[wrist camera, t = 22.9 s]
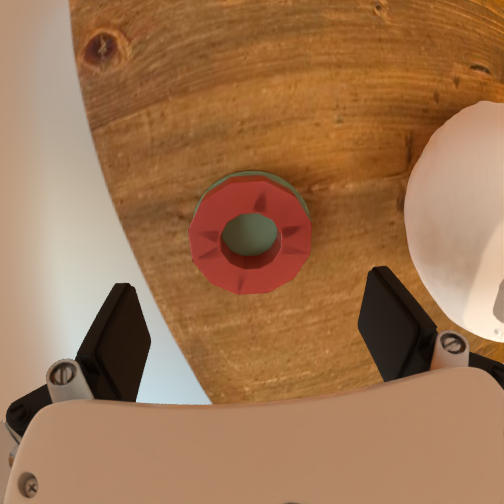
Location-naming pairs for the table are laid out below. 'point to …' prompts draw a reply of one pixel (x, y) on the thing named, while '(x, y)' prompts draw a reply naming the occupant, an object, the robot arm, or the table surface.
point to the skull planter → (462, 218)
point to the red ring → (260, 266)
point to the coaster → (253, 222)
